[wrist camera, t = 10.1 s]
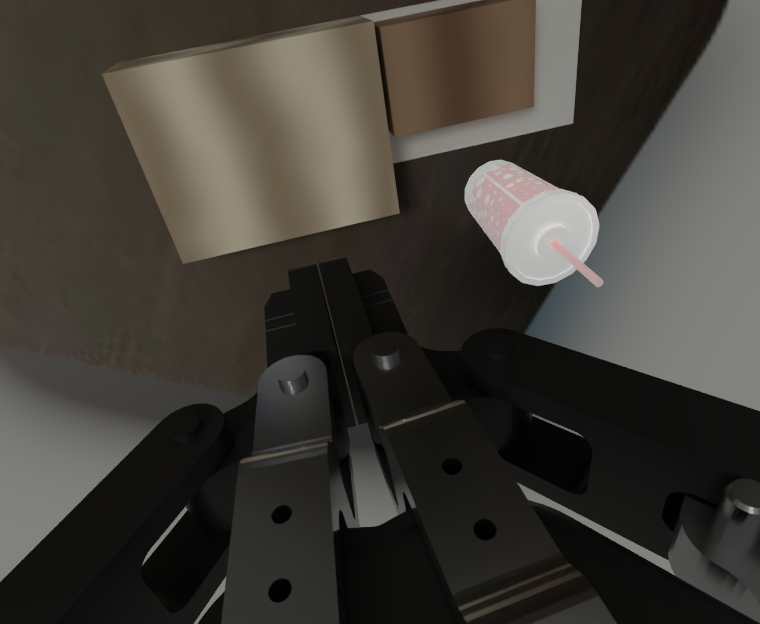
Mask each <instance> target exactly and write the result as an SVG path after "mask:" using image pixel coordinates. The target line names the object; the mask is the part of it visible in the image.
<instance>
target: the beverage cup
mask: <svg viewBox="0 0 760 624" xmlns="http://www.w3.org/2000/svg"><path fill="white" fill-rule="evenodd" d="M465 203H466V205H467V207H468V210H469V211H470V213H471V214H472V215H473V217H474V218H475V219H476V221H477V222H478V223H479V225H480V226H481V228H482V229H483V230H484V232H485V233H486V234H487V236H488V237H489V238H490V240H491V241H492V242H493V244H494V245H495V247H496V248H497V249H498V251H499V252H500V254H501V256H502V259H503V261H504V264H505V266H506V268H507V269H508V270H509V272H510V273H511V274H512V275H513V276H515V277H516V278H517V279H518V280H519V281H521V282H522V283H526V284H531V285H536V286H541V285H546V284H551V283H556V282H558V281H560V280H561V279H563V278H565V277H567V276H569V275H571V274H572V273H574V272H575V270H578V271H579V272H581V273H582V274H583V275H584V276H585V277H586V278H587V279H588V280H589V281H591V282H592V283H593V284H594V285H595V286H596V287H600V286H602V285H603V280H602V279H601V278H600V277H599V276H598V275H596V274H595V273H594V272H593V271H592V270H591V269H589V268H588V267H587V266H586V265H585V264H584V261H586V260H587V258H588V256H589V254H590V253H591V251H592V249H593V247H594V246H595V244H596V241H597V236H598V231H599V221H598V217H597V213H596V209H595V208H594V207H593V206H592V205H591V204H590V203H589V202H588V201H587V200H586V199H585V198H584V197H583V196H580V195H578V194H577V193H574V192H571V191H567V190H564V189H559V188H557V187H555V186H553V185H552V184H550V183H548V182H546V181H544V180H542V179H541V178H539V177H537V176H535V175H533V174H531V173H529V172H528V171H526V170H524V169H522V168H520V167H518V166H517V165H515V164H513V163H511V162H507V161H504V160H496V161H489V162H488V163H486V164H484V165H482V166H480V167H479V168H478V169H477V170H476V171H475V172H474V173H473V174H472V175H471V177H470V178H469V181H468V183H467V185H466V188H465Z"/></svg>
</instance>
